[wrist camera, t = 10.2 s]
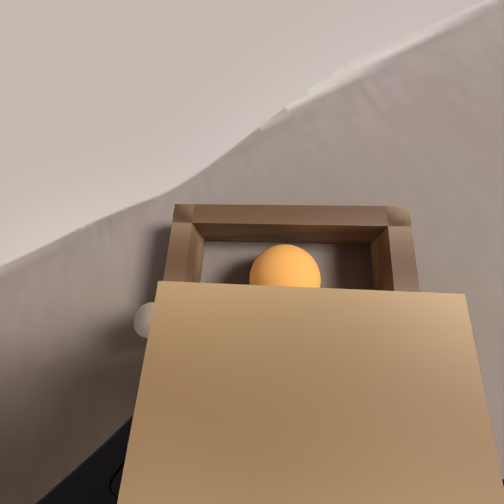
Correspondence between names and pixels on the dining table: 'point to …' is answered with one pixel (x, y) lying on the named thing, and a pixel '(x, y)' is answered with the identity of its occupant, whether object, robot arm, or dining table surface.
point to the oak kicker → (309, 400)
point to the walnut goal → (290, 239)
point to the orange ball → (285, 268)
